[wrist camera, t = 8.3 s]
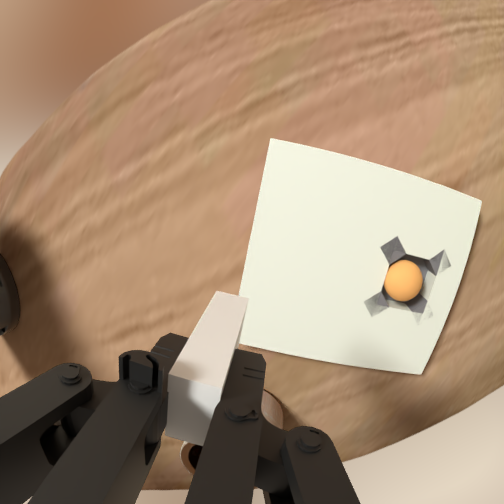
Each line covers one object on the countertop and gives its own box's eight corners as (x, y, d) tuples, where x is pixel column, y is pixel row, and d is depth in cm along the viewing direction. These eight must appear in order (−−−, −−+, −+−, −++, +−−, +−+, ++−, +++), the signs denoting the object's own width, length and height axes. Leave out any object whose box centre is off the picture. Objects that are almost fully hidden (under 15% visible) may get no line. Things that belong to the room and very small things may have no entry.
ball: (390, 290, 31) (371, 293, 28) (401, 254, 30) (383, 253, 27) (420, 305, 28) (404, 310, 25) (433, 267, 27) (418, 268, 24)
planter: (282, 440, 37) (278, 494, 27) (205, 434, 38) (187, 484, 29) (284, 381, 34) (280, 439, 25) (195, 376, 36) (169, 428, 26)
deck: (233, 329, 33) (229, 340, 31) (272, 141, 28) (270, 138, 26) (414, 363, 32) (421, 374, 29) (470, 198, 27) (481, 200, 24)
